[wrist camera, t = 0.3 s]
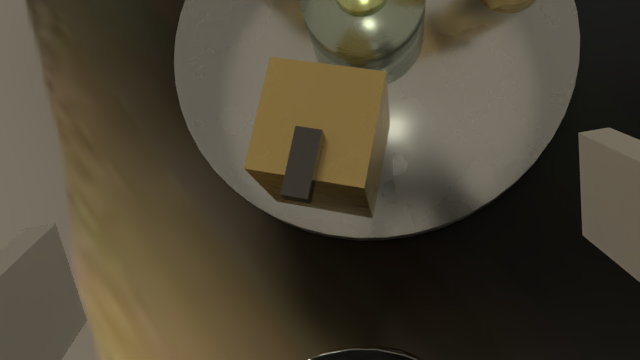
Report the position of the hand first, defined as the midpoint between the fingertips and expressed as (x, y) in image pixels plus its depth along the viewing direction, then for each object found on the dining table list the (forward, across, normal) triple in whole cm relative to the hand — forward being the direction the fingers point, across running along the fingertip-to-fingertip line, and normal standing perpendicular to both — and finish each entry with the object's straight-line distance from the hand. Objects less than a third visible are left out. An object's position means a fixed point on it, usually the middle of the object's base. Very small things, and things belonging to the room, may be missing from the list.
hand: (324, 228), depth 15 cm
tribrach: (+20, -4, -2) cm, 21 cm away
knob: (+15, -1, +3) cm, 16 cm away
